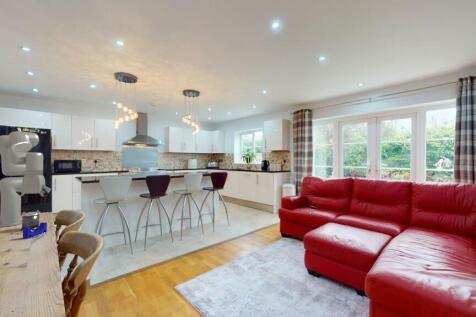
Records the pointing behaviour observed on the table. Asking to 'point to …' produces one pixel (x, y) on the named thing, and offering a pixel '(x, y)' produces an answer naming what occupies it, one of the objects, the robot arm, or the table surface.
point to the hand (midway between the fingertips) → (33, 203)
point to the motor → (30, 220)
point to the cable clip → (29, 234)
